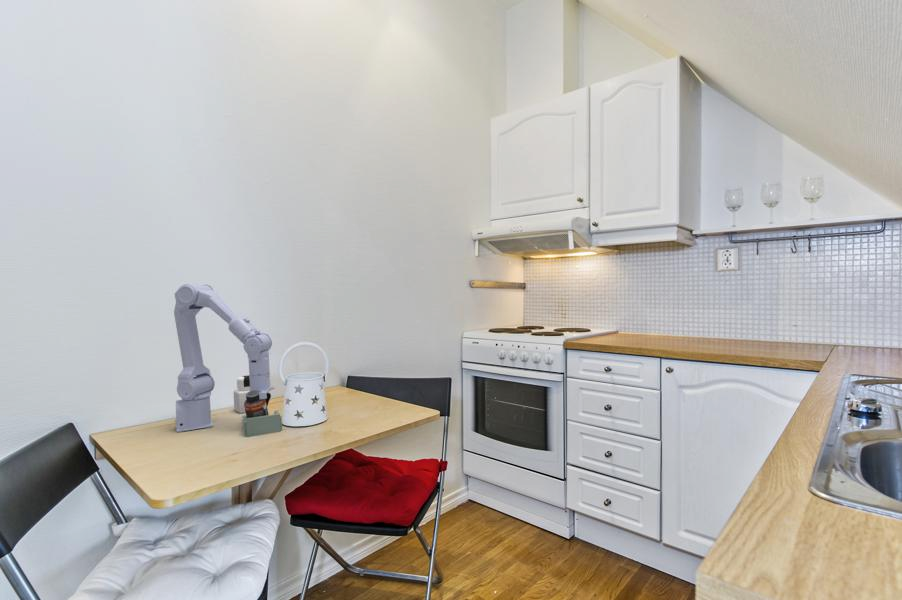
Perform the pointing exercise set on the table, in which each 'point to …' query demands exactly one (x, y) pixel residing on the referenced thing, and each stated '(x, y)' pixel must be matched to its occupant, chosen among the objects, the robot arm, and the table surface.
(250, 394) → the supplement bottle
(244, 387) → the medicine bottle
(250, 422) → the holder
